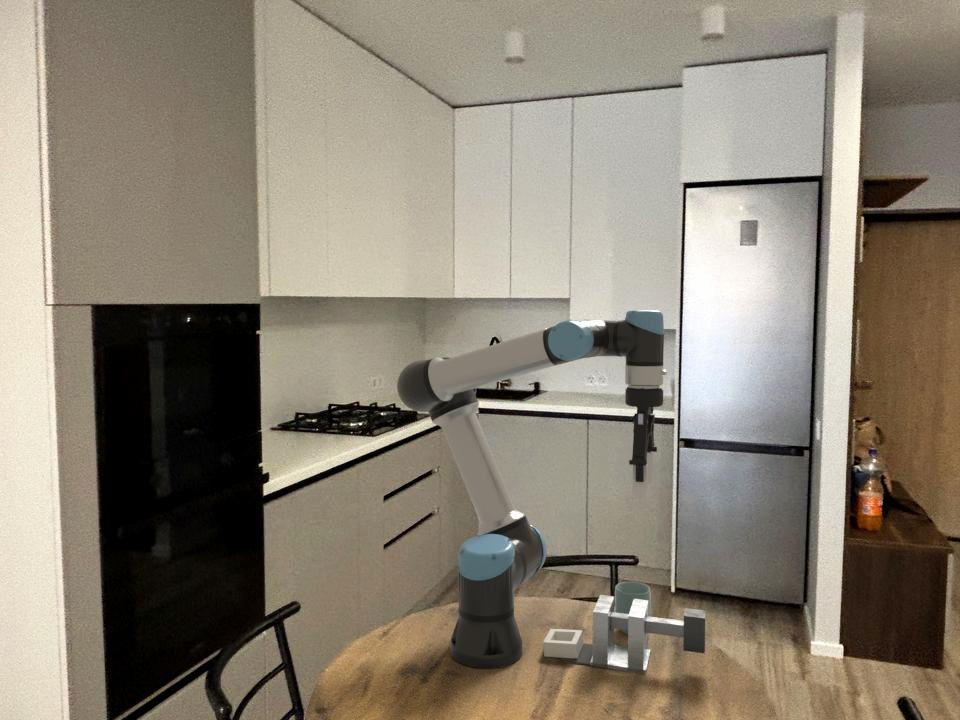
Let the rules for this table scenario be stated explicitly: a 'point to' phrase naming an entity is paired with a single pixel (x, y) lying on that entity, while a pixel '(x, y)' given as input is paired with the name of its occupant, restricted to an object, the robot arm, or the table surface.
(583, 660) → the mat
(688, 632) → the shaft
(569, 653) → the block
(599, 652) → the bearing block
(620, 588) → the cup
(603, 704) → the table surface
